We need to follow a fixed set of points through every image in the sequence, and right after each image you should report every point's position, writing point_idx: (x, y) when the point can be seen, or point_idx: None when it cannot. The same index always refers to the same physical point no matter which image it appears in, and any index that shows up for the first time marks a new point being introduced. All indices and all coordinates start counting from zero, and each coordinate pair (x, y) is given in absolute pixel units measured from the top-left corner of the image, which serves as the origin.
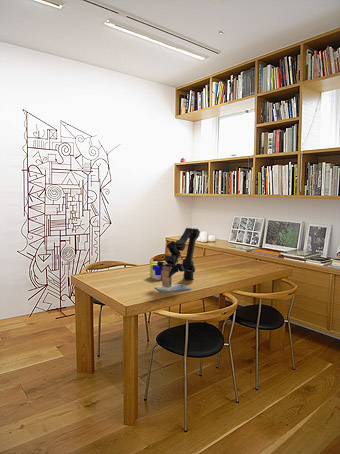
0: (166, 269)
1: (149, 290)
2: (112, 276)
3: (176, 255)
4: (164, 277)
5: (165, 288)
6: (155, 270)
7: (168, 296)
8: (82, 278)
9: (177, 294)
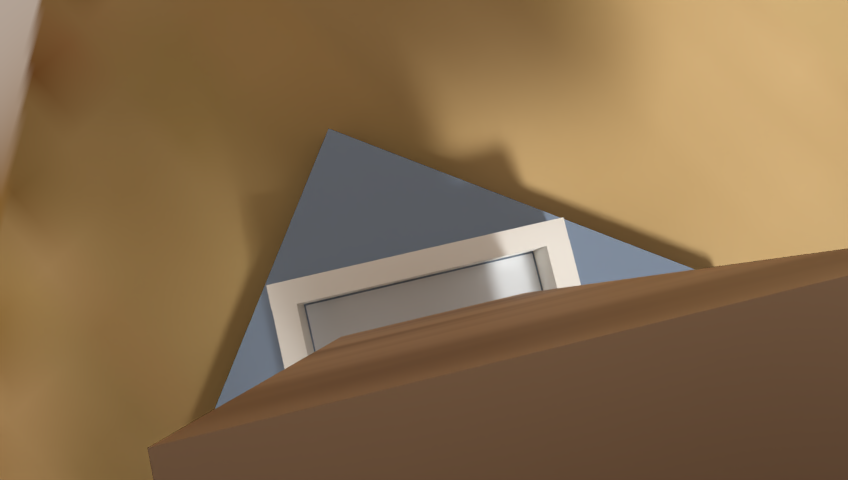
0: (442, 345)
1: (675, 69)
2: None
3: None
4: (505, 307)
5: (370, 263)
6: None
7: (60, 35)
8: None
9: (2, 295)
